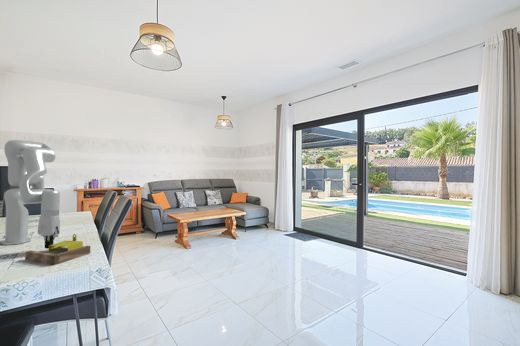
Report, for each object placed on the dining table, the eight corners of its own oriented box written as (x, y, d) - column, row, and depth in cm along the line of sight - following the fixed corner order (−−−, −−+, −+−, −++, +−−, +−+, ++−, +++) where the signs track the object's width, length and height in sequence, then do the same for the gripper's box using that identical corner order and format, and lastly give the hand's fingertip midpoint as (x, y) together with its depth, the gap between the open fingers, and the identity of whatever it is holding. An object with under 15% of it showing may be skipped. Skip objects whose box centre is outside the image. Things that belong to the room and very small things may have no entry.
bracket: (36, 240, 126) (61, 233, 141) (36, 256, 126) (60, 247, 141) (66, 241, 125) (88, 234, 140) (66, 257, 125) (87, 248, 140)
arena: (25, 260, 118) (25, 251, 118) (63, 249, 135) (63, 242, 135) (54, 264, 113) (54, 256, 113) (90, 253, 130) (90, 245, 130)
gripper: (32, 213, 131) (30, 248, 131) (52, 215, 127) (51, 251, 127) (47, 211, 138) (46, 244, 138) (67, 213, 134) (66, 247, 134)
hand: (49, 247), depth 132 cm, fingers closed
